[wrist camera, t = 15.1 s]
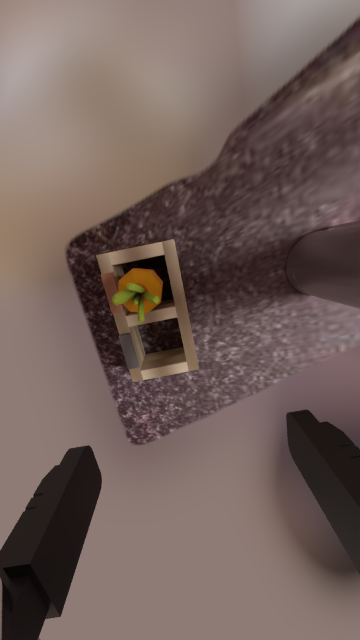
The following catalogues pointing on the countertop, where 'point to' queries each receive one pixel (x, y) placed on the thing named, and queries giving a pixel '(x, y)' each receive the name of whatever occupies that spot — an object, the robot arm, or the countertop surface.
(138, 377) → the frame
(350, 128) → the countertop surface
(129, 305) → the carrot
